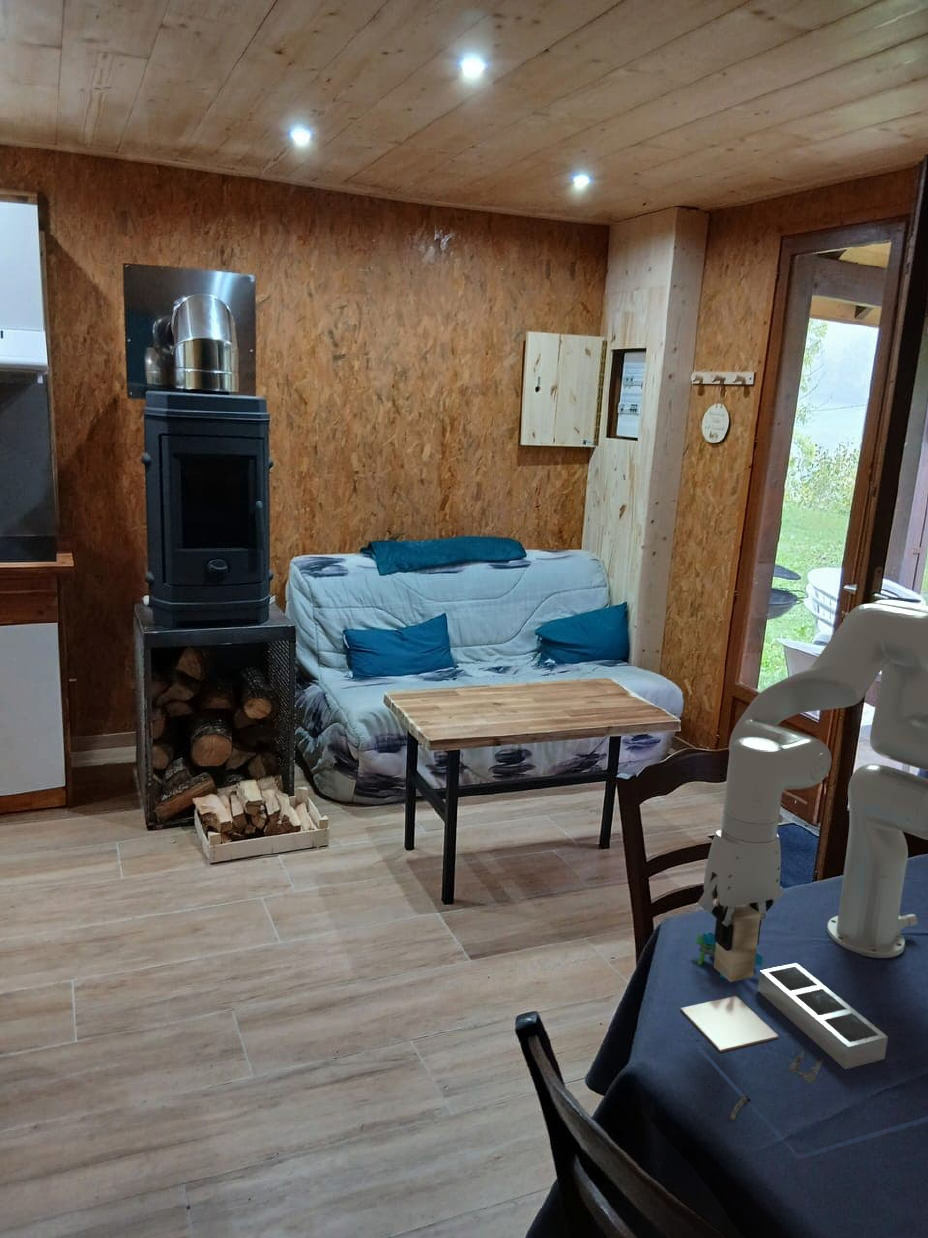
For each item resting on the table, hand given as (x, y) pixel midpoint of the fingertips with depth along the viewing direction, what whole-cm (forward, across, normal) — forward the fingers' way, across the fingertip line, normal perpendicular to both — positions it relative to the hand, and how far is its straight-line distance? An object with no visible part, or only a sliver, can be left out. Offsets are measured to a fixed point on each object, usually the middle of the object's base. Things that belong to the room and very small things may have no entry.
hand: (736, 942), depth 136 cm
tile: (+14, 0, 0) cm, 14 cm away
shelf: (+14, -13, +4) cm, 20 cm away
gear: (+14, -9, -13) cm, 21 cm away
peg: (+5, 0, 0) cm, 5 cm away
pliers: (+15, +2, +14) cm, 20 cm away
